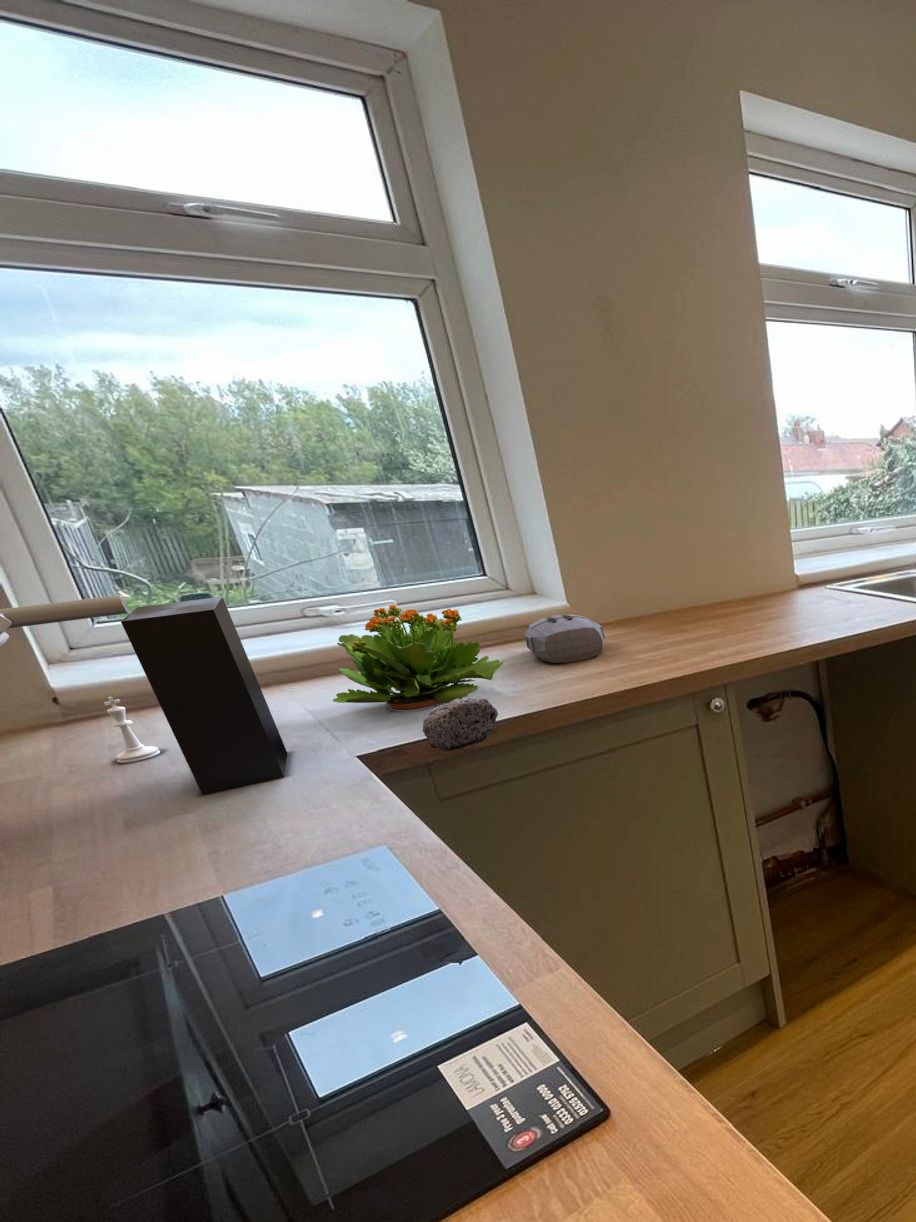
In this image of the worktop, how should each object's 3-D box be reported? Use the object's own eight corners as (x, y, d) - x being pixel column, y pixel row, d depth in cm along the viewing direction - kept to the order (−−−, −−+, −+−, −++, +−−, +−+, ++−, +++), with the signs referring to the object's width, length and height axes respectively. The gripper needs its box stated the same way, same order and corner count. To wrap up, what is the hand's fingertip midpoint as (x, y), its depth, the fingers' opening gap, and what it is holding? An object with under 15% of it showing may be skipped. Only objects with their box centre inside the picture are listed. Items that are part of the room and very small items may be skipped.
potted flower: (369, 736, 133) (330, 632, 126) (307, 715, 144) (269, 618, 138) (519, 692, 152) (493, 599, 145) (454, 676, 164) (427, 590, 157)
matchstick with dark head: (-74, 643, 97) (-89, 617, 96) (-65, 639, 100) (-79, 613, 99) (128, 618, 107) (117, 593, 106) (132, 614, 109) (121, 590, 108)
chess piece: (164, 753, 129) (136, 694, 125) (122, 765, 125) (92, 704, 121) (155, 748, 132) (126, 690, 128) (113, 759, 128) (82, 699, 124)
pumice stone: (434, 754, 131) (429, 756, 122) (418, 707, 129) (411, 706, 121) (506, 736, 136) (506, 738, 127) (491, 692, 134) (490, 690, 126)
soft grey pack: (616, 654, 175) (590, 637, 189) (607, 615, 171) (582, 602, 186) (539, 669, 166) (519, 651, 180) (528, 629, 163) (508, 614, 177)
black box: (202, 795, 113) (120, 621, 104) (211, 769, 122) (137, 607, 113) (284, 776, 118) (213, 609, 109) (287, 753, 127) (222, 596, 118)
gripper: (-179, 689, 88) (-49, 608, 92) (-104, 653, 103) (5, 584, 107) (-106, 728, 92) (16, 649, 96) (-44, 688, 107) (59, 620, 111)
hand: (11, 614), depth 102 cm, fingers closed on matchstick with dark head, 2 cm apart
